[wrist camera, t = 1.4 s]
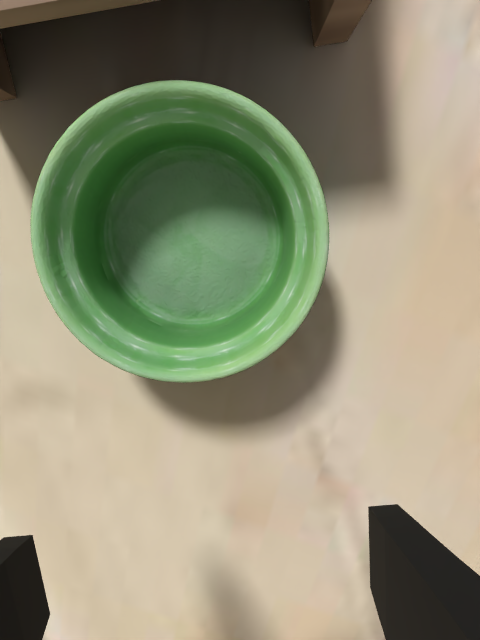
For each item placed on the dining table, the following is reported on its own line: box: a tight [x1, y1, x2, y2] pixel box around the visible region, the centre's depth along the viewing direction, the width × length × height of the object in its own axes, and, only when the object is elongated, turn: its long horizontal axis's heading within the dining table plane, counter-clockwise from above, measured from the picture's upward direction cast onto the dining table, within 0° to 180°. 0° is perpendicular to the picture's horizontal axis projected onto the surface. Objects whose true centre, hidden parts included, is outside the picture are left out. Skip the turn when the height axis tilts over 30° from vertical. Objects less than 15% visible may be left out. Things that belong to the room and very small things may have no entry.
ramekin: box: [31, 80, 329, 383], centre depth 15 cm, size 9×9×4 cm
